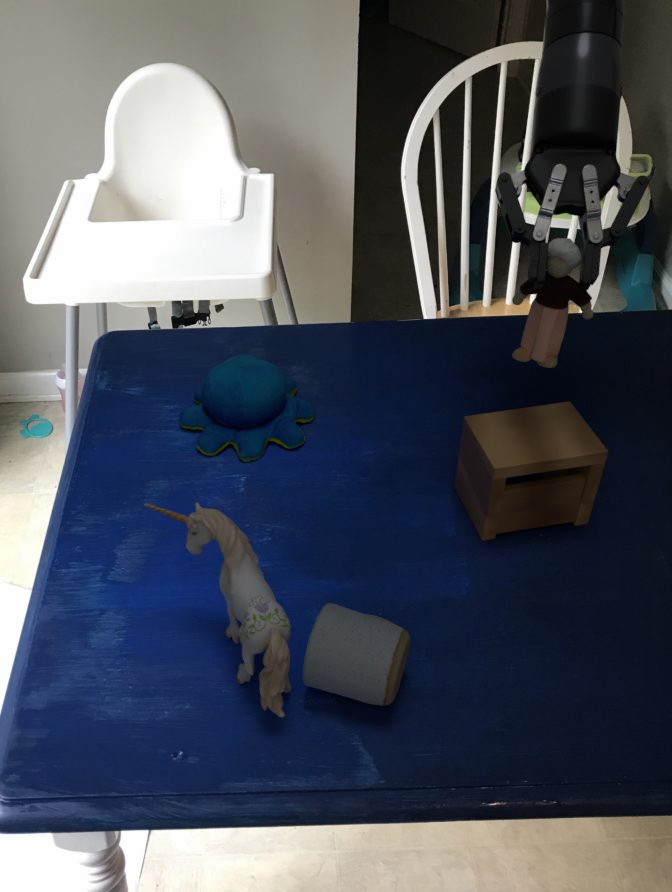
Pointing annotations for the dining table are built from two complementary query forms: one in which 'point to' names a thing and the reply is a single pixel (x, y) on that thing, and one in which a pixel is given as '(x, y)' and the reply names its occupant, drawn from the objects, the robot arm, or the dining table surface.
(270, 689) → the unicorn figurine
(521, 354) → the grandmother figurine
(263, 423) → the plush toy
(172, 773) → the dining table surface
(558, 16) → the robot arm
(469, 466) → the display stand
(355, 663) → the grey cylinder
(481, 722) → the dining table surface
